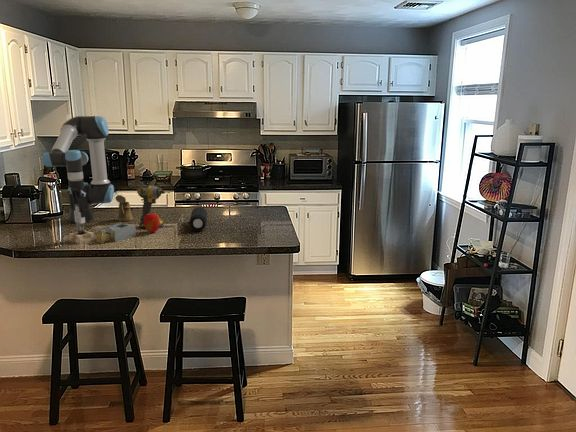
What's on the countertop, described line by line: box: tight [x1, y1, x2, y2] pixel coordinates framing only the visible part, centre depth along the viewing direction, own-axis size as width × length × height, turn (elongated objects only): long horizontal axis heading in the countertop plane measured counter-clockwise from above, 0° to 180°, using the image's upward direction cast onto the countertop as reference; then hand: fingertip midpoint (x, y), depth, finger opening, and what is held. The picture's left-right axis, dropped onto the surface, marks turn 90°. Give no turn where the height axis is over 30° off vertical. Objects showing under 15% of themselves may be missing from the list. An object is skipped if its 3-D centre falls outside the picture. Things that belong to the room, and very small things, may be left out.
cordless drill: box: [136, 184, 171, 229], centre depth 285 cm, size 9×20×25 cm, turn 78°
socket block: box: [101, 222, 137, 242], centre depth 267 cm, size 11×14×6 cm
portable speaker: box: [188, 206, 208, 232], centre depth 289 cm, size 26×10×10 cm, turn 8°
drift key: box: [95, 233, 111, 244], centre depth 260 cm, size 4×10×4 cm, turn 148°
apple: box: [143, 212, 160, 234], centre depth 276 cm, size 9×9×12 cm
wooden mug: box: [115, 194, 133, 223], centre depth 300 cm, size 9×14×18 cm, turn 2°
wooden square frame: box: [68, 230, 96, 245], centre depth 261 cm, size 9×9×4 cm
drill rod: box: [75, 203, 86, 235], centre depth 258 cm, size 4×4×18 cm
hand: (80, 222), depth 259 cm, fingers closed on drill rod, 3 cm apart
